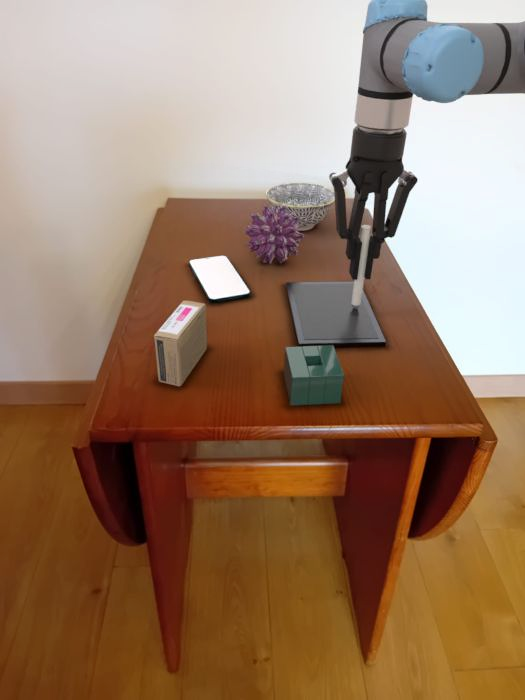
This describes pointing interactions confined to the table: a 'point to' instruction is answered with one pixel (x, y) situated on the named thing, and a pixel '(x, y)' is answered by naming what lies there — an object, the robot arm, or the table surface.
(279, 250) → the flower
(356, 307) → the stylus
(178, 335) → the ink box
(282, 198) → the bowl
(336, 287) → the tablet
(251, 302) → the table surface
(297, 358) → the pen block
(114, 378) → the table surface
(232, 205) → the table surface
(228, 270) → the smartphone
